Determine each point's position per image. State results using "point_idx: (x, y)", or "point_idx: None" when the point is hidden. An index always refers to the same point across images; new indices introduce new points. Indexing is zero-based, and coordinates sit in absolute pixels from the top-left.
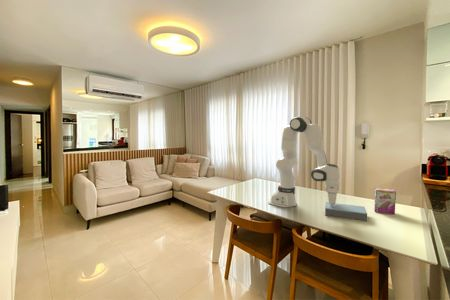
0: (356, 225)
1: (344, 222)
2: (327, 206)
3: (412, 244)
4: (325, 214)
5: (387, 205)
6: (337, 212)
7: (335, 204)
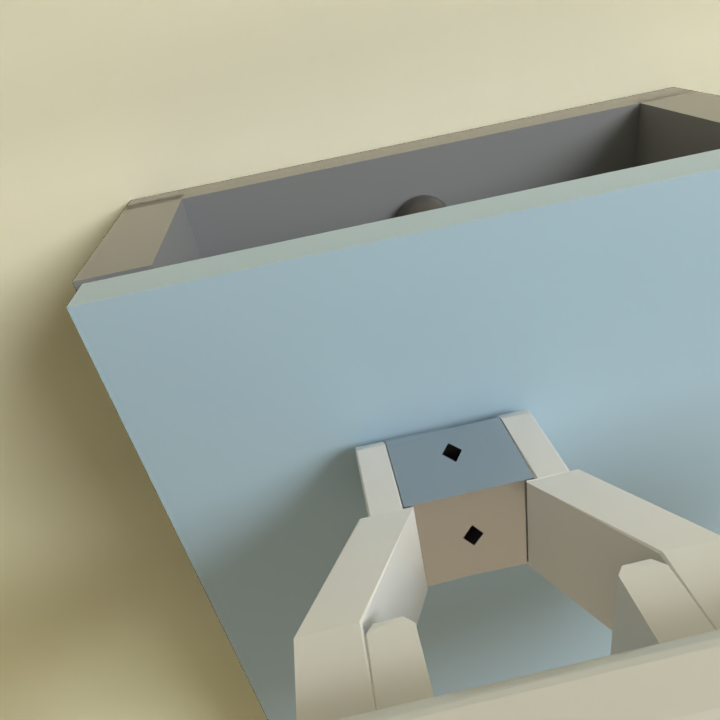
0: (81, 713)
1: (54, 595)
2: (351, 333)
3: None
4: (125, 219)
5: None
6: None
7: (714, 486)
